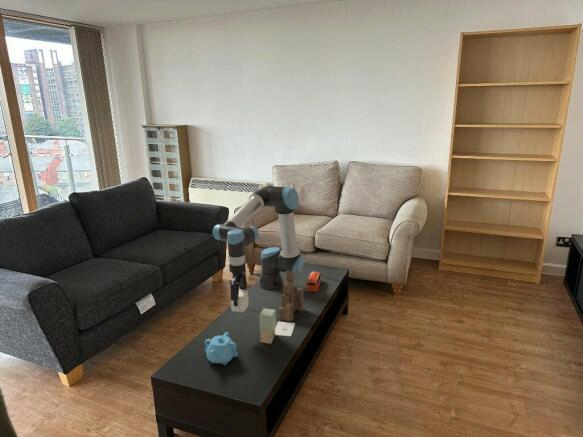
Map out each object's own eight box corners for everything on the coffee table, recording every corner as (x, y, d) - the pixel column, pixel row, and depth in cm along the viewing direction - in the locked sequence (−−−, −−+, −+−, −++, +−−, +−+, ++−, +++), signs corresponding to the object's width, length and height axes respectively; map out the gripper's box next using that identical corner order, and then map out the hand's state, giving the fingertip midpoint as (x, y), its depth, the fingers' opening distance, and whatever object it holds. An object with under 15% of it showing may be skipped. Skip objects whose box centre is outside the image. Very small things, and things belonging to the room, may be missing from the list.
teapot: (230, 348, 187) (228, 326, 184) (241, 364, 174) (239, 341, 172) (203, 357, 181) (201, 334, 178) (213, 373, 169) (210, 349, 166)
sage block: (264, 323, 196) (263, 308, 193) (275, 324, 194) (275, 309, 192) (259, 329, 190) (259, 314, 188) (271, 331, 188) (271, 316, 186)
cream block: (237, 303, 197) (236, 288, 195) (248, 304, 196) (247, 290, 193) (231, 310, 191) (230, 295, 188) (243, 312, 189) (242, 296, 187)
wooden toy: (290, 322, 207) (289, 277, 200) (279, 319, 210) (278, 275, 203) (304, 309, 220) (304, 266, 213) (293, 306, 223) (293, 264, 216)
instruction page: (277, 322, 208) (277, 321, 208) (295, 323, 206) (295, 322, 206) (272, 334, 196) (272, 333, 196) (291, 336, 195) (290, 335, 195)
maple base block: (265, 334, 197) (265, 323, 195) (275, 335, 196) (275, 324, 194) (260, 342, 191) (260, 331, 189) (270, 343, 189) (270, 332, 188)
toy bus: (305, 292, 239) (305, 281, 237) (310, 280, 256) (310, 269, 254) (317, 293, 238) (317, 282, 236) (322, 281, 255) (322, 270, 253)
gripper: (237, 254, 196) (240, 296, 203) (220, 271, 178) (224, 317, 185) (252, 255, 195) (254, 298, 201) (236, 272, 176) (239, 319, 183)
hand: (240, 307), depth 193 cm, fingers closed on cream block, 7 cm apart
